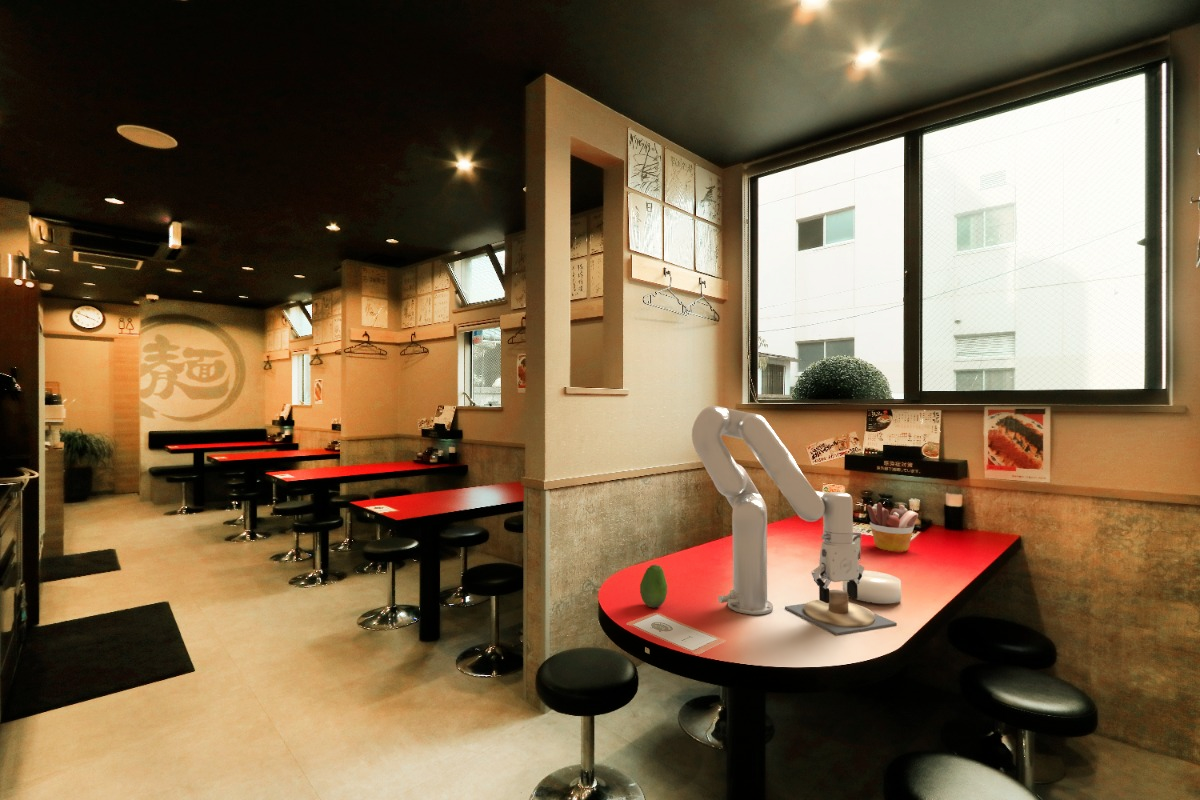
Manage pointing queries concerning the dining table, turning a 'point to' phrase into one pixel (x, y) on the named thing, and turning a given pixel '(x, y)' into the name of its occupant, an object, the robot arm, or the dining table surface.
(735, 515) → the robot arm
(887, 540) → the bucket of meat
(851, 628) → the rubber mat
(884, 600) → the ceramic bowl
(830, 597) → the bamboo lid
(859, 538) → the food container
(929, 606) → the dining table surface
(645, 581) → the avocado
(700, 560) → the dining table surface
